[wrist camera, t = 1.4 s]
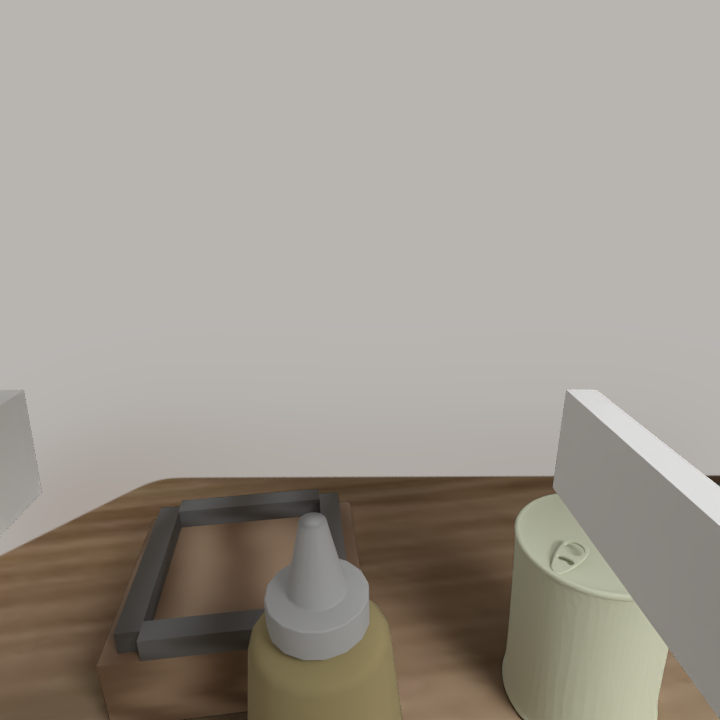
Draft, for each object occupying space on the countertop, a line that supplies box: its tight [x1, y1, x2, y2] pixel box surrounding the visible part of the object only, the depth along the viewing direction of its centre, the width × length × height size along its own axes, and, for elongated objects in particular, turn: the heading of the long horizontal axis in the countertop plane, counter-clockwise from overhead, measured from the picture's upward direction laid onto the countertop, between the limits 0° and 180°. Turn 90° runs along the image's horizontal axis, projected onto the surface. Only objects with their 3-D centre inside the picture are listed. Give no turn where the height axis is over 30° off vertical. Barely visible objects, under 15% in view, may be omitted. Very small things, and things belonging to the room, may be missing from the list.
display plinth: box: [96, 489, 360, 720], centre depth 40 cm, size 16×14×6 cm
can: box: [502, 494, 668, 720], centre depth 34 cm, size 9×9×12 cm
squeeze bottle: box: [248, 512, 402, 720], centre depth 26 cm, size 8×8×18 cm
